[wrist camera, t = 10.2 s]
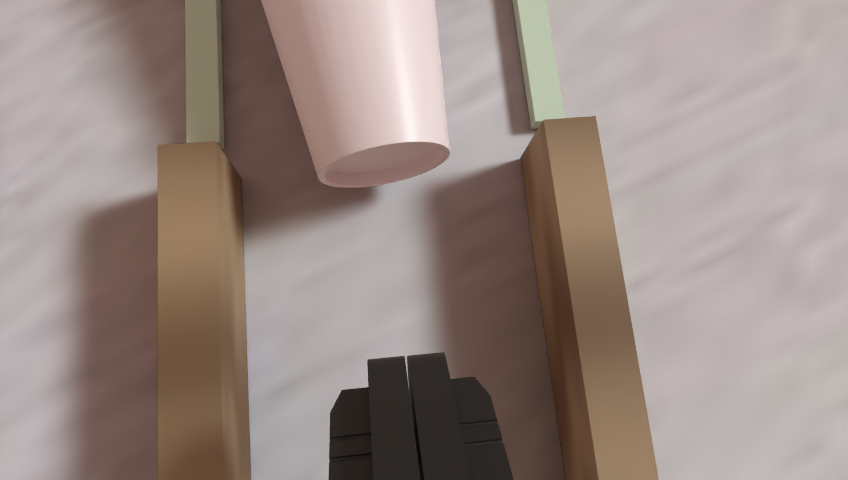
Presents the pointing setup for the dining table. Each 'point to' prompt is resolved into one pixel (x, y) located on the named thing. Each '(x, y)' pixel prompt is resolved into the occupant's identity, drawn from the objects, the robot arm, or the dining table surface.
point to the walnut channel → (558, 287)
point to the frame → (208, 71)
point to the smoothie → (364, 86)
